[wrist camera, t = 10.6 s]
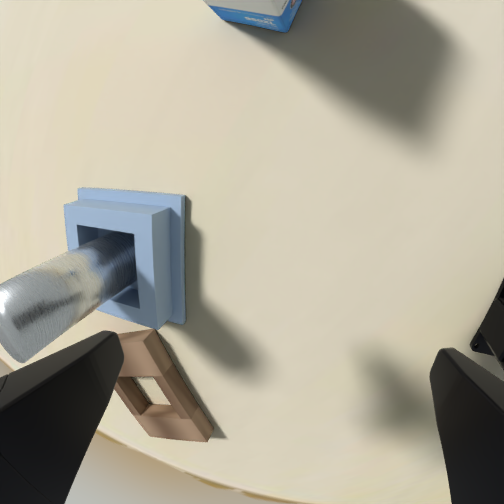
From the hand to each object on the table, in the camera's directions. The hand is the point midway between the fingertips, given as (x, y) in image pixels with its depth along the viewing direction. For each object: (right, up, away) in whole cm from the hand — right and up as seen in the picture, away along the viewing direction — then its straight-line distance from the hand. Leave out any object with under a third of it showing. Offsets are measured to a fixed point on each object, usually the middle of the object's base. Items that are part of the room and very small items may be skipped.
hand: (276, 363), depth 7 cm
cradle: (-10, +3, +15) cm, 19 cm away
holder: (-10, -11, +20) cm, 25 cm away
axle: (-10, +3, +15) cm, 18 cm away
